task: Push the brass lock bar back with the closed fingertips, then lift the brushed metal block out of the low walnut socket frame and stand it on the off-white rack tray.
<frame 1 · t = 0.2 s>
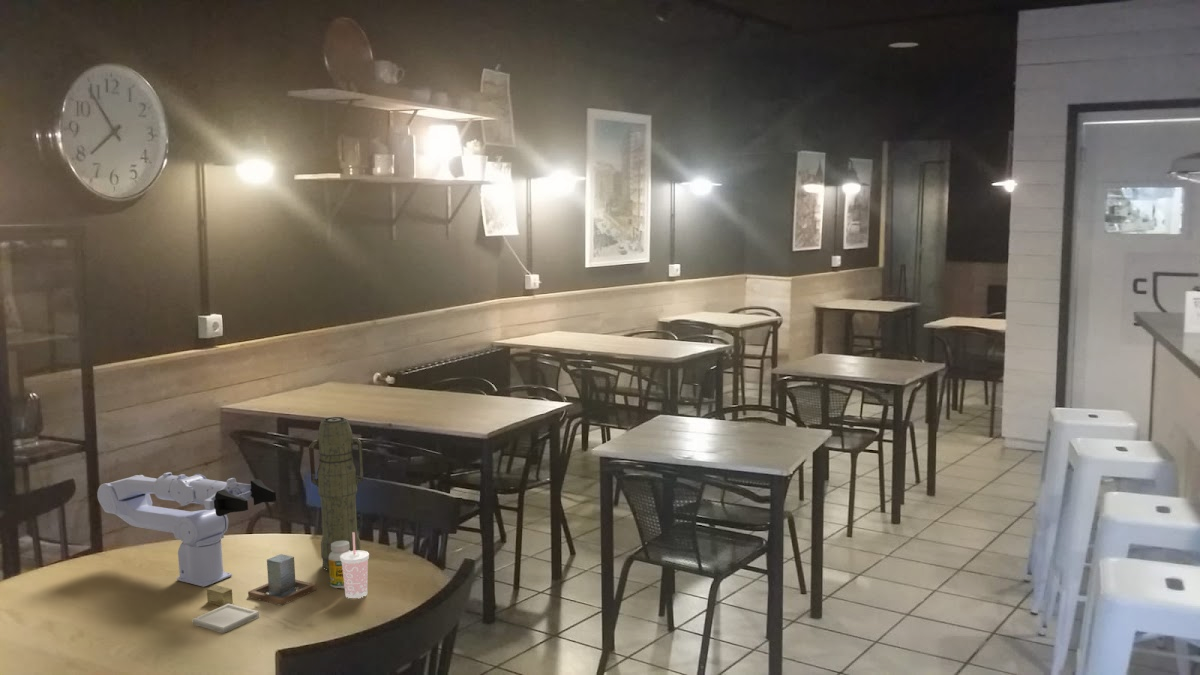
hand: (260, 500, 220), 21 cm above the table, tool horizontal, fingers open, 7 cm apart
brushed metal block: (281, 575, 223), in the socket
lock bar: (219, 595, 219), point 2 cm above the table, slide at 0.0 cm
beverage cup: (356, 595, 222), on the table
socket: (282, 593, 224), on the table
rack tray: (226, 620, 210), on the table
supplement bottle: (342, 585, 228), on the table
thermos: (341, 566, 241), on the table
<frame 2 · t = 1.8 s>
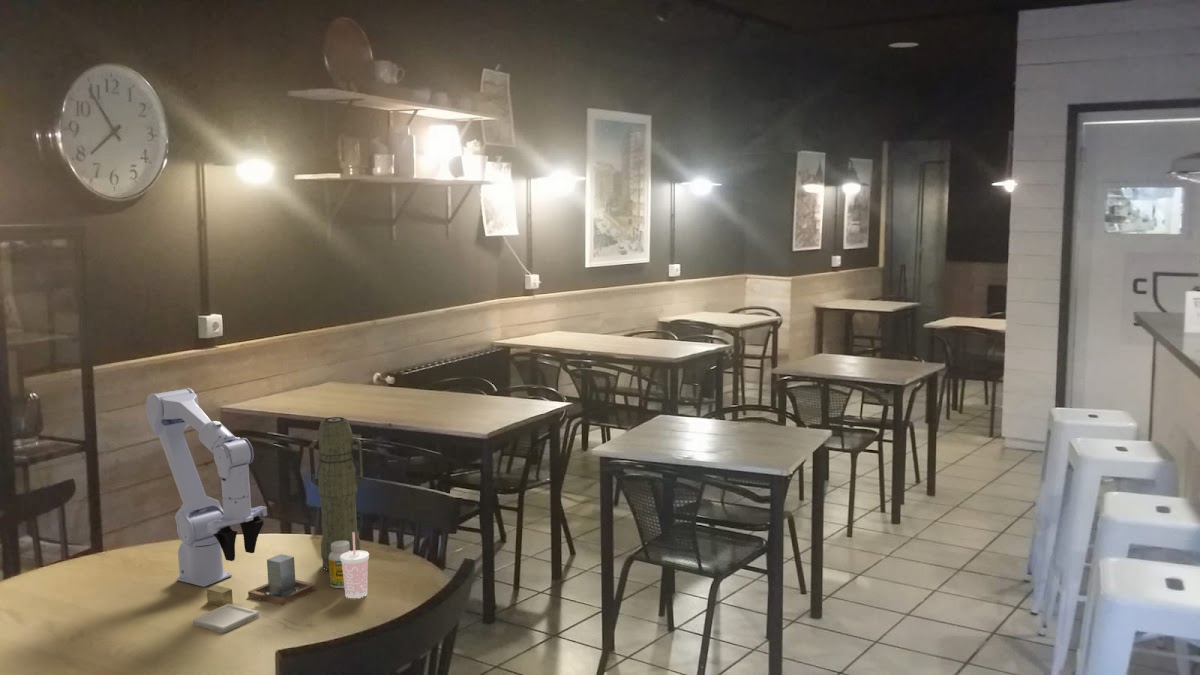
hand: (240, 556, 223), 8 cm above the table, tool pointing down, fingers open, 5 cm apart
nothing on the table moved.
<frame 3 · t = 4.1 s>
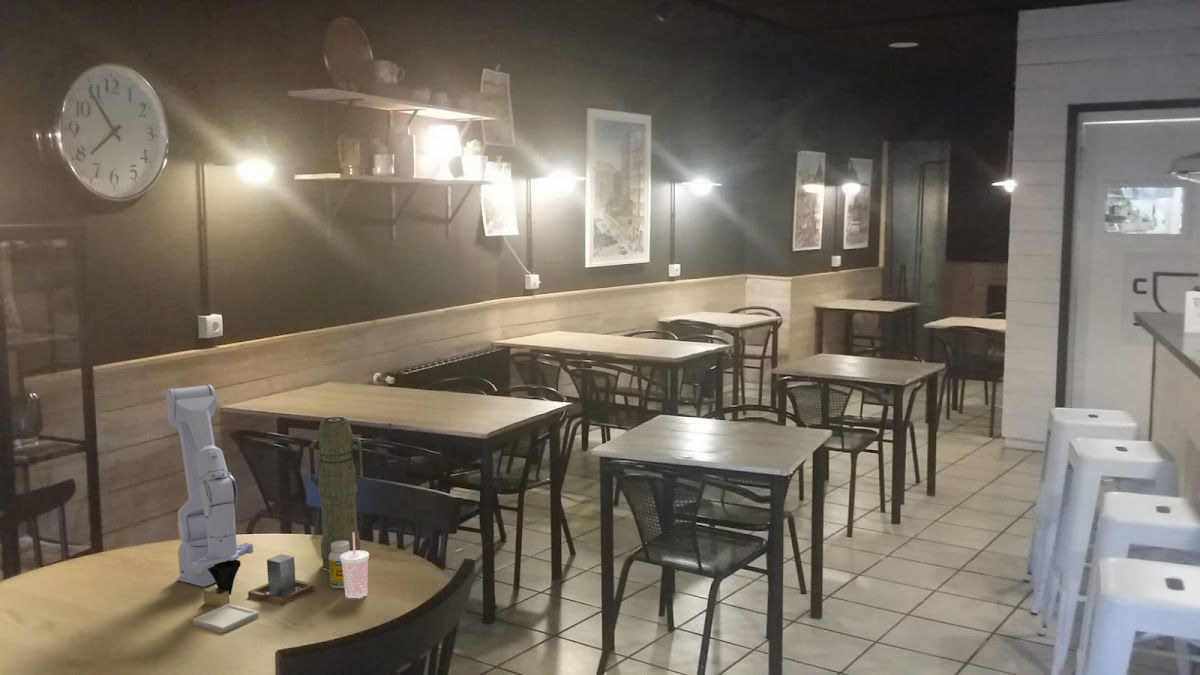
hand: (225, 594, 220), 1 cm above the table, tool pointing down, fingers closed
lock bar: (216, 597, 218), point 1 cm above the table, slide at 0.8 cm, touching gripper
everything else where it was.
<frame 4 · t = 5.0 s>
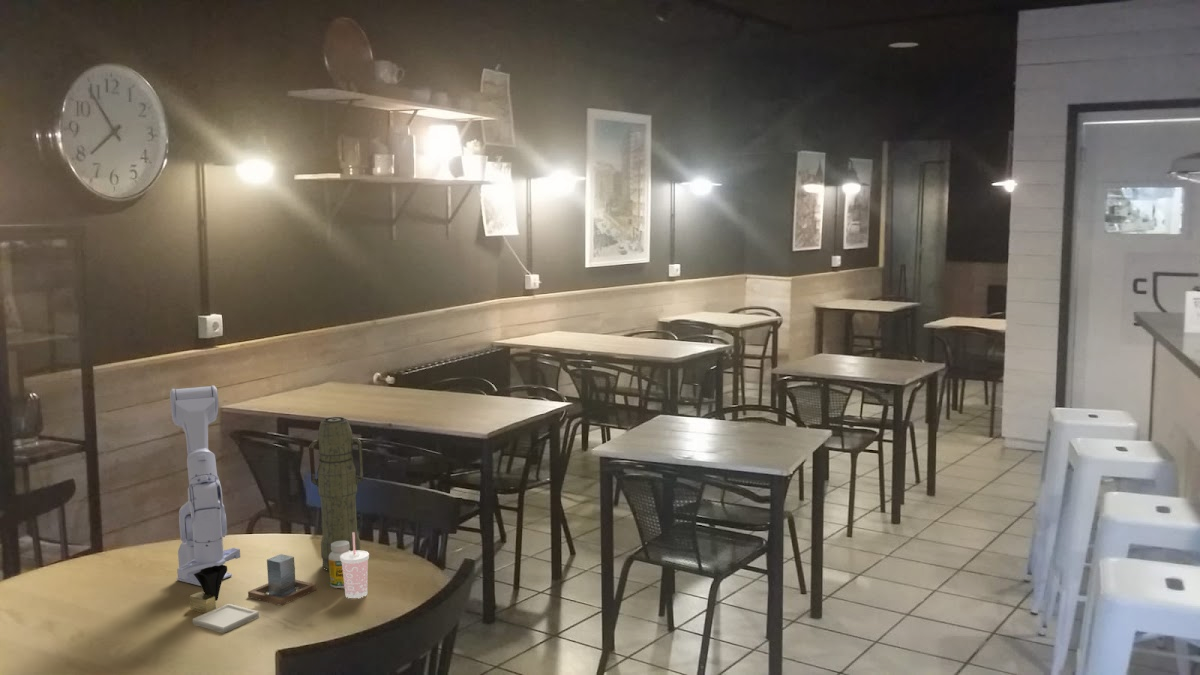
hand: (212, 600, 217), 1 cm above the table, tool pointing down, fingers closed
lock bar: (202, 602, 215), point 2 cm above the table, slide at 4.4 cm, touching gripper
everything else where it was.
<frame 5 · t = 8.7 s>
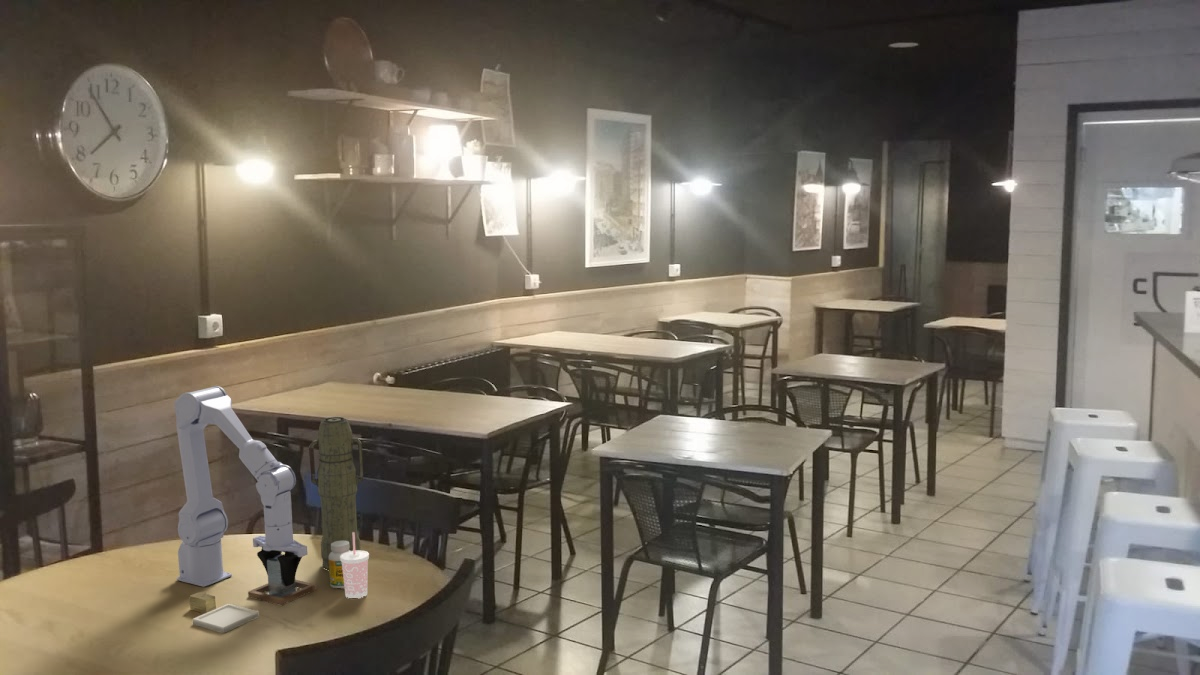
hand: (281, 582, 223), 2 cm above the table, tool pointing down, fingers closed on brushed metal block, 4 cm apart
brushed metal block: (281, 575, 223), in the socket, touching gripper
lock bar: (202, 602, 215), point 1 cm above the table, slide at 4.4 cm
everything else where it was.
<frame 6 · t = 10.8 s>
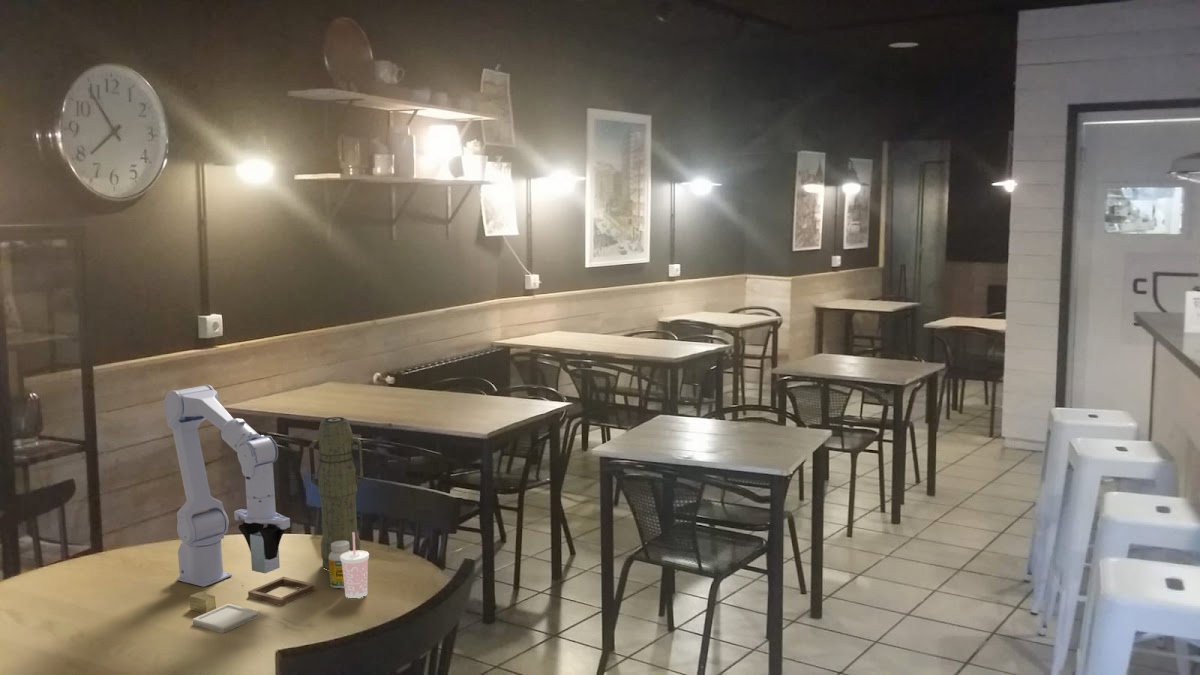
hand: (264, 556, 218), 10 cm above the table, tool pointing down, fingers closed on brushed metal block, 4 cm apart
brushed metal block: (264, 551, 218), point 11 cm above the table, touching gripper
everything else where it was.
when the fingers open (4 cm above the table, at t = 12.9 s): brushed metal block stays where it is, resting on rack tray.
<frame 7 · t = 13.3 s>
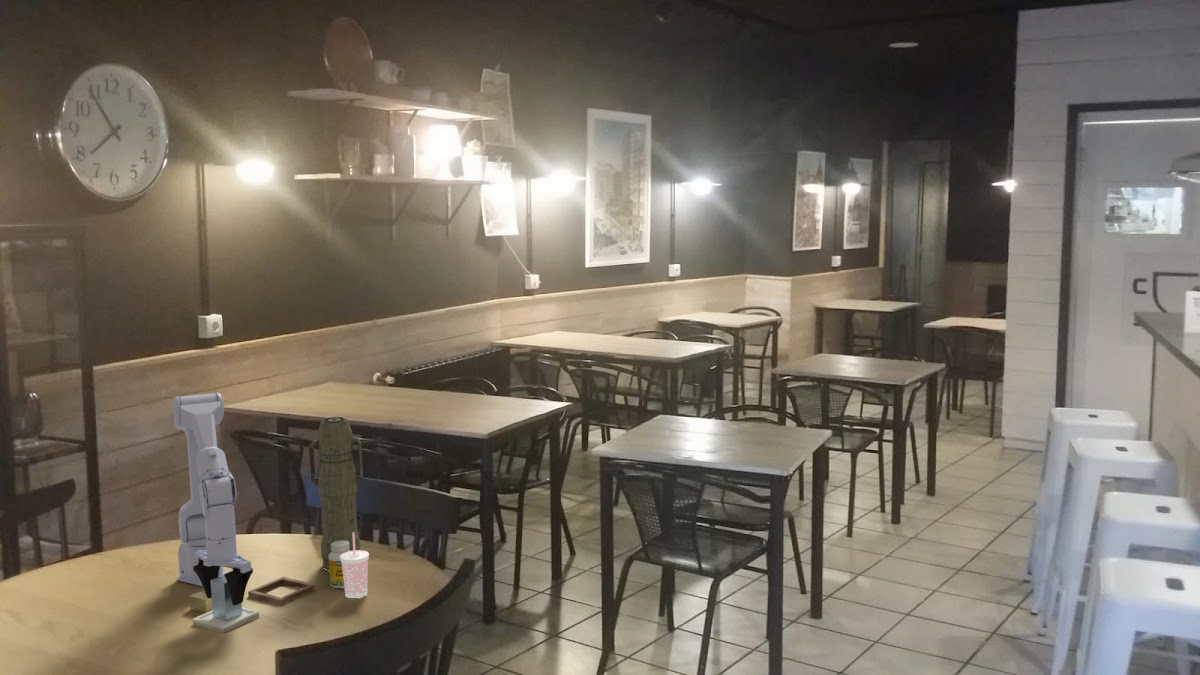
hand: (224, 600, 209), 4 cm above the table, tool pointing down, fingers open, 7 cm apart
brushed metal block: (226, 597, 209), point 5 cm above the table, touching rack tray
everything else where it was.
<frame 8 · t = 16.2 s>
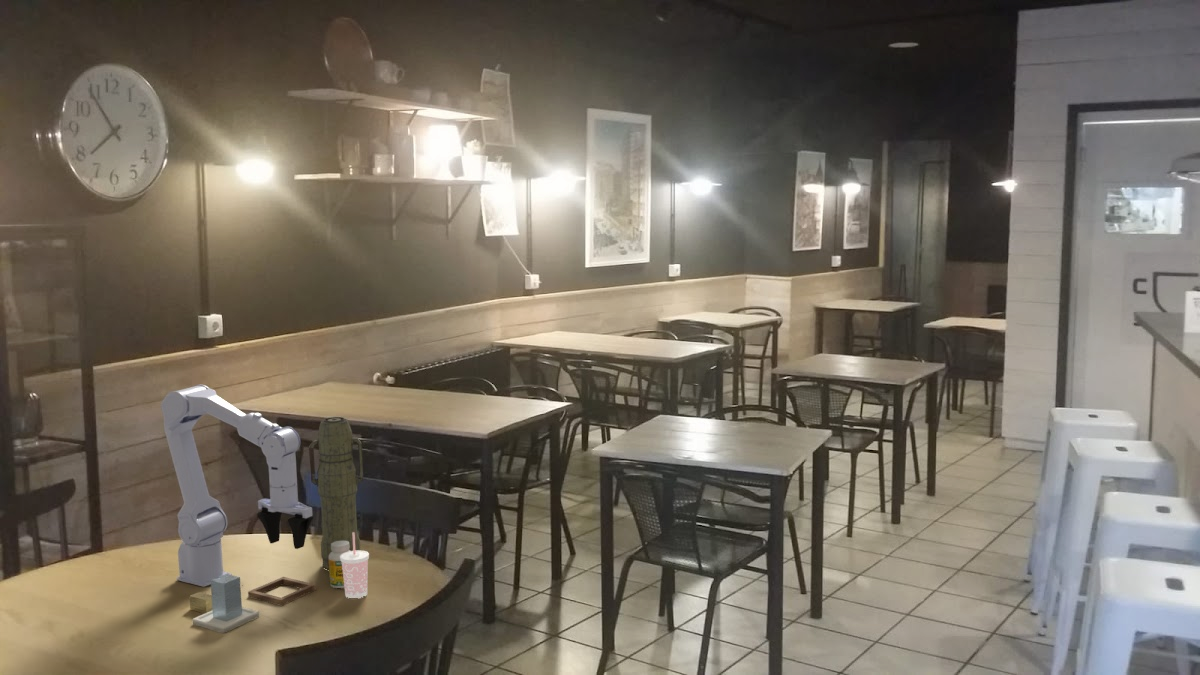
hand: (286, 544, 224), 10 cm above the table, tool pointing down, fingers open, 7 cm apart
nothing on the table moved.
at the end: brushed metal block inside the target area on the rack tray (0.4 cm from its centre), point 4.8 cm above the rack tray's base; brushed metal block tilted 0°; lock bar slide at 4.4 cm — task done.
